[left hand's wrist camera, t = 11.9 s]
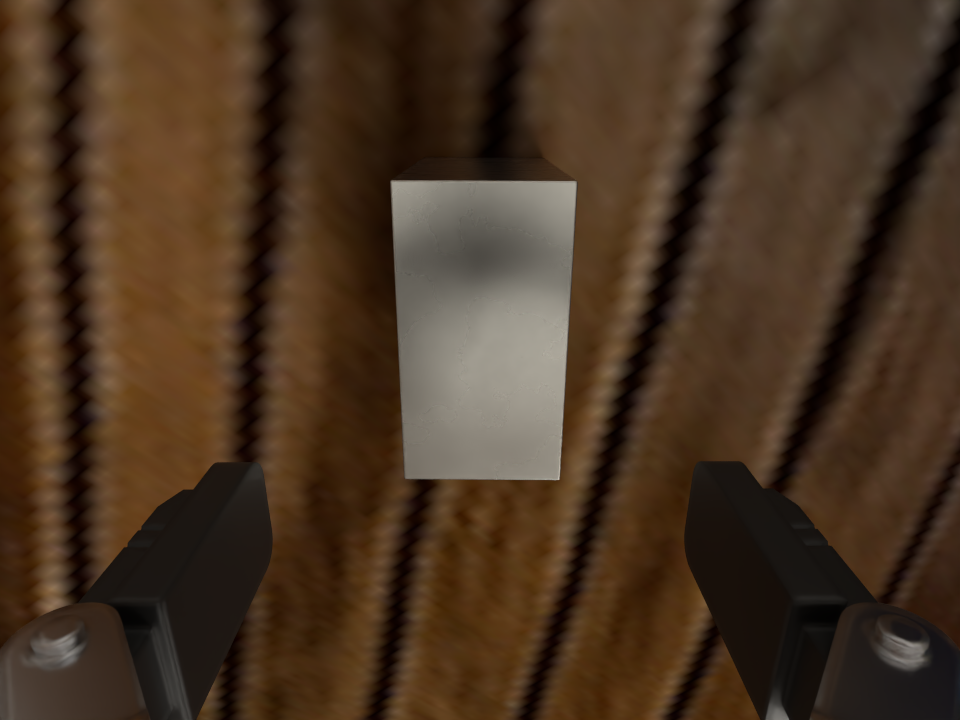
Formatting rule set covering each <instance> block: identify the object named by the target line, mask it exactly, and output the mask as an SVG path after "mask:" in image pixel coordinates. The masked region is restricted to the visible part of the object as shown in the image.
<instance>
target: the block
mask: <svg viewBox="0 0 960 720" xmlns="http://www.w3.org/2000/svg"><path fill="white" fill-rule="evenodd" d="M577 186H578V182H577V181H576V180H575V179H573V178H572V177H570V176H569V175H567V174H566V173H565V172H563V171H562V170H560V169H559V168H557V167H556V166H555V165H553V164H552V163H550V162H549V161H547V160H546V159H545V158H447V157H424V158H423V159H421V160H420V161H418V162H417V163H415V164H414V165H412V166H411V167H410V168H408V169H407V170H405V171H404V172H402V173H401V174H399V175H398V176H396V177H395V178H394V179H392V180H391V181H390V188H391V209H392V230H393V251H394V272H395V293H396V314H397V335H398V356H399V377H400V398H401V419H402V439H403V460H404V478H405V479H485V480H559V479H560V469H561V452H562V435H563V419H564V402H565V385H566V369H567V352H568V336H569V319H570V302H571V286H572V269H573V252H574V236H575V219H576V203H577Z"/></svg>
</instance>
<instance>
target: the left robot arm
mask: <svg viewBox="0 0 960 720" xmlns="http://www.w3.org/2000/svg"><path fill="white" fill-rule="evenodd" d="M272 540H273V538H272V528H271V521H270V514H269V508H268V501H267V494H266V487H265V481H264V474H263V470H262V468H261V466H260V464H259V463H256V462H217V463H215V464H213V465H212V466H211V467H210V469H209V470H208V471H207V473H206V474H205V475H204V476H203V478H202V479H201V480H200V482H199V483H198V484H197V486H196V487H195V488H194V489H193V490H182V491H181V492H179V493H178V494H176V495H175V496H173V497H172V498H170V499H169V500H167V501H166V502H164V503H163V504H161V505H160V506H158V507H157V508H156V510H155V511H154V512H153V513H152V514H151V516H150V517H149V518H148V519H147V520H146V522H145V523H144V524H143V525H142V529H141V531H137V533H136V534H135V535H134V536H133V537H132V539H131V540H130V541H129V542H128V546H127V547H124V548H123V549H122V551H121V552H120V553H119V554H118V556H117V557H116V558H115V559H114V560H113V562H112V563H111V564H110V565H109V566H108V568H107V569H106V570H105V571H104V572H103V574H102V575H101V576H100V577H99V578H98V580H97V581H96V582H95V583H94V585H93V586H92V587H91V588H90V589H89V591H88V592H87V593H86V594H85V595H84V597H83V598H82V599H81V600H80V601H79V603H78V604H73V605H69V606H65V607H62V608H59V609H56V610H53V611H51V612H49V613H46V614H44V615H42V616H40V617H38V618H37V619H35V620H33V621H32V622H30V623H28V624H27V625H25V626H24V627H23V628H21V629H20V630H19V631H17V632H16V633H15V634H14V635H13V636H12V637H11V638H10V639H9V640H8V641H7V642H6V643H5V644H4V646H3V647H2V648H1V650H0V720H196V719H197V717H198V714H199V712H200V710H201V708H202V706H203V704H204V702H205V700H206V697H207V695H208V693H209V691H210V689H211V687H212V685H213V683H214V680H215V678H216V676H217V674H218V672H219V670H220V668H221V666H222V664H223V661H224V659H225V657H226V655H227V653H228V651H229V649H230V647H231V644H232V642H233V640H234V638H235V636H236V634H237V632H238V630H239V627H240V625H241V623H242V621H243V619H244V617H245V615H246V613H247V611H248V608H249V606H250V604H251V602H252V600H253V598H254V596H255V594H256V591H257V589H258V587H259V585H260V583H261V581H262V579H263V577H264V574H265V572H266V570H267V568H268V565H269V562H270V558H271V553H272ZM684 543H685V552H686V557H687V561H688V565H689V567H690V569H691V572H692V574H693V576H694V578H695V580H696V582H697V584H698V587H699V589H700V591H701V593H702V595H703V597H704V599H705V602H706V604H707V606H708V608H709V610H710V612H711V614H712V617H713V619H714V621H715V623H716V625H717V627H718V629H719V632H720V634H721V636H722V638H723V640H724V642H725V644H726V647H727V649H728V651H729V653H730V655H731V657H732V659H733V662H734V664H735V666H736V668H737V670H738V672H739V675H740V677H741V679H742V681H743V683H744V685H745V687H746V690H747V692H748V694H749V696H750V698H751V700H752V702H753V705H754V707H755V709H756V711H757V713H758V715H759V717H760V720H960V650H959V648H958V647H957V646H956V644H955V643H954V642H953V641H952V640H951V639H950V638H949V637H948V636H947V635H946V634H945V633H944V632H943V631H941V630H940V629H939V628H937V627H936V626H935V625H933V624H932V623H930V622H928V621H927V620H925V619H923V618H922V617H920V616H918V615H916V614H914V613H911V612H909V611H907V610H904V609H901V608H898V607H895V606H891V605H887V604H882V603H878V602H877V601H876V600H875V598H874V597H873V596H872V595H871V594H870V592H869V591H868V590H867V589H866V588H865V586H864V585H863V584H862V583H861V581H860V580H859V579H858V578H857V577H856V575H855V574H854V573H853V572H852V570H851V569H850V568H849V567H848V566H847V564H846V563H845V562H844V561H843V559H842V558H841V557H840V556H839V555H838V553H837V552H836V551H835V550H834V549H833V547H832V546H828V541H827V540H826V539H825V538H824V536H823V535H822V534H821V533H820V531H819V530H818V529H815V528H814V524H813V523H812V522H811V520H810V519H809V518H808V517H807V516H806V514H805V513H804V512H803V511H802V510H801V508H800V507H799V506H798V505H797V504H795V503H794V502H792V501H791V500H789V499H788V498H786V497H785V496H783V495H782V494H780V493H779V492H777V491H776V490H774V489H763V488H762V487H761V485H760V484H759V483H758V482H757V480H756V479H755V478H754V476H753V475H752V474H751V472H750V471H749V470H748V468H747V467H746V466H745V465H744V464H743V463H742V462H739V461H700V462H698V463H697V464H696V466H695V468H694V472H693V478H692V485H691V492H690V498H689V505H688V512H687V519H686V526H685V534H684Z"/></svg>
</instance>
